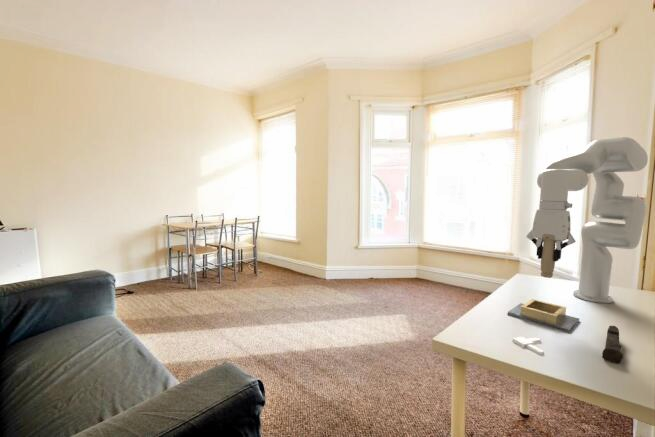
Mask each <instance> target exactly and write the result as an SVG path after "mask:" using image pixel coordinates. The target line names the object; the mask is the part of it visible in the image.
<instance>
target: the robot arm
mask: <svg viewBox="0 0 655 437" xmlns="http://www.w3.org/2000/svg"><path fill="white" fill-rule="evenodd" d="M648 160H649V159H648V154H647V151H646V150H645V149H644V147H643V146H641V145H640V143H639V142H637V140H635V139H634V138H631V137H626V136H625V137H614V138H613V137H612V138H602V139H601V138H600V139H596V140H593V141H591V142H589V143H588V144H587V145H585V147H584V148H582V149H581V150H580V151H578V153H576V154H574V155H570V156H567V157H565V158H562V159H558V160H556V161H553V162H551V163H550V164H548V165H547V166H545V167H544V168H543V169H542V170H541V171H540V172H539V174H538V176H537V179H536V182H537V187H538V188H539V189H540V193H539V194H540V195H539V207H538V209H536V210H535V215H534V219H533V224H532V229H531V230H530V231H529V232H528V234H526V238H527V239H528V240H530V241H531V242H532V243H533V244H534V245H535V247H536V256H537V259H538V260H541V256H542V250H543V239H544V238H542V236H543V234H548V235H554V236H555V238H556V239H553V240H555V241H556V243H555V250H554V261H555V263H556V262H558V261H559V260H561V258H562V250H563V249H564V248H566V247H567V246H570V245H572V244H575V243H576V239H575V238H574V237H573V235H572V233H571V213H570V211H569V210H568V209H569V208H573V203H569V202H568V197H569V196H568V194H569V192H577V191H581V190H583V189H585V188H586V187H587V185H588V183H589V175H590V174H592V175H593V177H594V180H595V188H594V194H593V199H592V204H591V212H590V213H591V215H592V216H593V217H594V218H596V219H600V220H601V219H602V220H611V221H622V222H623V221H624V222H625V223H618V222H617V223H616V222H608V221H607V222H605V221H589V222H586V223H584V224H583V226H582V227H581V230H580V231H581V243H582V244H581V246H582V250H581V262H580V263H581V264H580V272H579V281H578V282H579V283H578V289H577V290H574V291H573V295H574V296H575V297H577V298H578V299H581V300H584V301H587V302H592V303H597V304H598V303H599V304H611V303H613V302H614V298H613V297H612V296H610V295H609V294H610V293H609V292H610V286H611V285H610V283H611V276H612V268H613V266H612V265H613V256H612V253H611V252H610V250H609V249H608V248H613V249H615V248H616V249H622V250H633V249H636V248H637V247H638V246H639V244H640V241H641V237H642V232H643V227H644V222H645V218H646V212H647V206H646V201H645V200H644V199H643V198H641V197H639V196H628V195H623V193H624V190H625V189H624V188H625V183H624V181H623V180H622V178H621V177H620V176H619V175H618V174H617V173H626V172H627V173H628V172H639V171H642V170H643V169H645V168H646V166H647V164H648ZM546 237H548V236H546ZM566 240H567V241H566ZM564 241H565V242H564ZM607 247H608V248H607Z"/></svg>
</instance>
